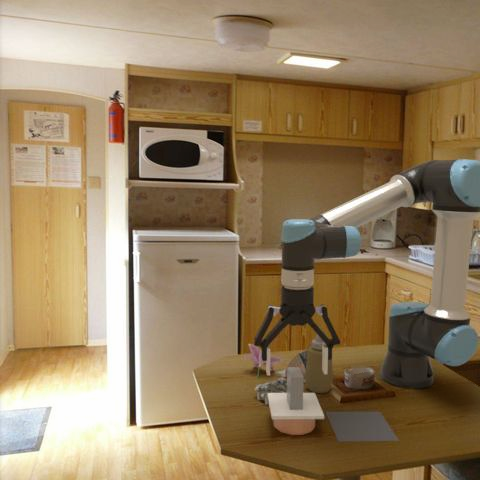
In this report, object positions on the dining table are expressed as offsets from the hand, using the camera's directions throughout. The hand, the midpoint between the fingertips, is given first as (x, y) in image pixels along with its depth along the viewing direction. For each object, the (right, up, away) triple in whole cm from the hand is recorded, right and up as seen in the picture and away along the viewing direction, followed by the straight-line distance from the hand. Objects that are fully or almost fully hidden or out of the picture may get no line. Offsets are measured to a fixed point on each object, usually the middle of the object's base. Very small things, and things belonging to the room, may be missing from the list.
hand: (296, 372), depth 119 cm
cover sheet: (0, -9, +1) cm, 9 cm away
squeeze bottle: (+9, -11, +22) cm, 26 cm away
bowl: (0, -13, +2) cm, 14 cm away
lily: (-7, -9, +33) cm, 35 cm away
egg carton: (-4, -12, +18) cm, 22 cm away
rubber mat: (+16, -14, +1) cm, 21 cm away
